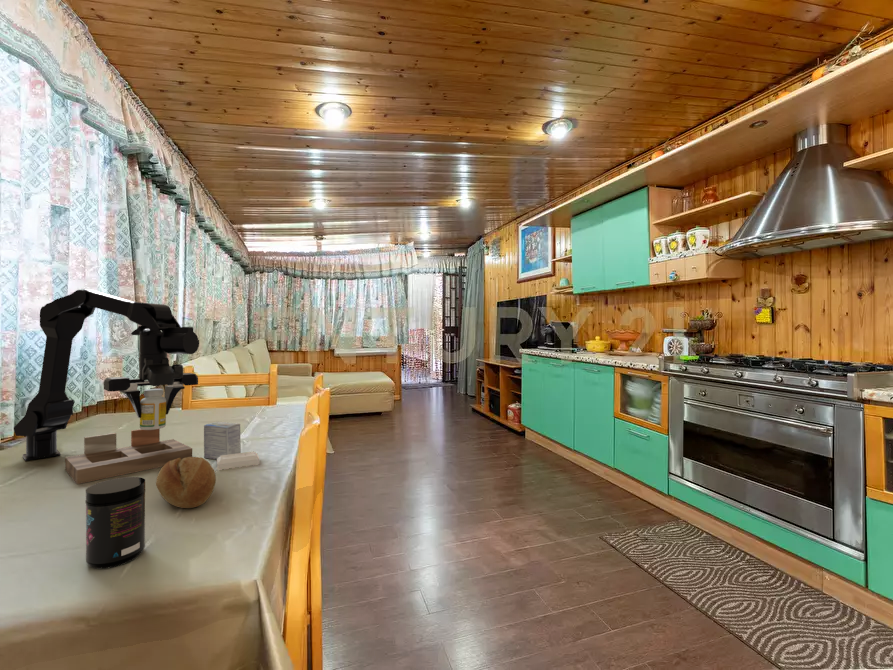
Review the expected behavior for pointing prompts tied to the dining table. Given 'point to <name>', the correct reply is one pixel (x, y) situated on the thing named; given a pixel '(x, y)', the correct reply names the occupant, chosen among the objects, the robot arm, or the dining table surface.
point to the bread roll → (186, 481)
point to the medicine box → (221, 439)
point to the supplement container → (115, 521)
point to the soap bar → (237, 460)
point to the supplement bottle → (153, 410)
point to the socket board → (123, 455)
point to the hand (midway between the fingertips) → (153, 416)
